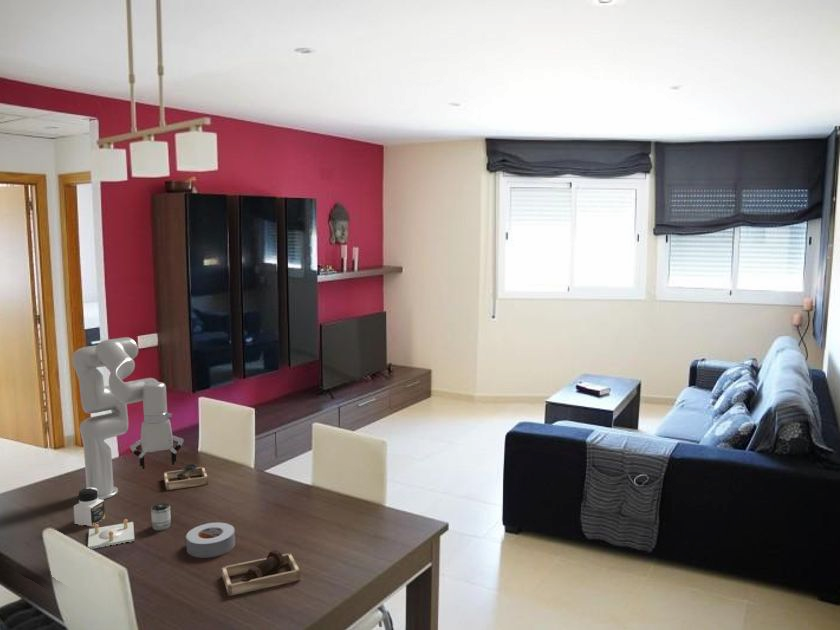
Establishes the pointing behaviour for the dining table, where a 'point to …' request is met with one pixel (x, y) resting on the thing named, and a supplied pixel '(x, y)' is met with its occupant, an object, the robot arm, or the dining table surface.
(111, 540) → the pin board
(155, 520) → the camera lens
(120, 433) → the robot arm
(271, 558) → the bolt
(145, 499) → the dining table surface
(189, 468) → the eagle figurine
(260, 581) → the bolt frame
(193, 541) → the tape roll
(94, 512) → the medicine bottle
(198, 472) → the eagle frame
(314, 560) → the dining table surface
